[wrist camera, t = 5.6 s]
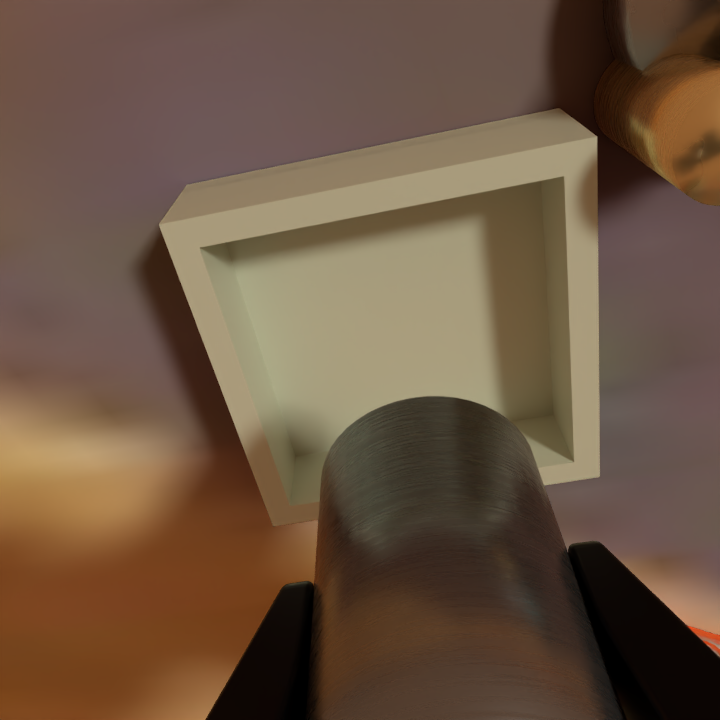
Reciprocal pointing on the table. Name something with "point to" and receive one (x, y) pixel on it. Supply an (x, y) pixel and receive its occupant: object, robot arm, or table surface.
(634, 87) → the crank base
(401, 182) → the tray
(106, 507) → the table surface
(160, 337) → the table surface
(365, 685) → the dark metal cylinder
